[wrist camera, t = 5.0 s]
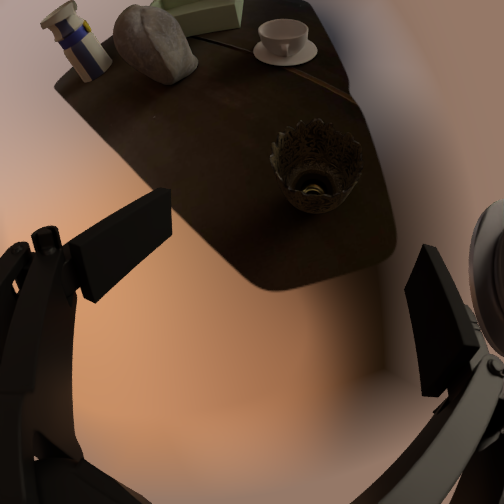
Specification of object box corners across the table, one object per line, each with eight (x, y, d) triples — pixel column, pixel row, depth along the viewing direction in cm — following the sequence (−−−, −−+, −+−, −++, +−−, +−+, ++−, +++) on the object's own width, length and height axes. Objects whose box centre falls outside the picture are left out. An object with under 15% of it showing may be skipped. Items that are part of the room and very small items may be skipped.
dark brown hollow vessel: (362, 196, 27) (381, 152, 20) (318, 247, 26) (327, 214, 19) (307, 156, 29) (308, 106, 22) (261, 201, 29) (250, 157, 21)
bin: (240, 27, 39) (234, 4, 34) (141, 49, 42) (130, 30, 37) (244, -5, 45) (240, -23, 39) (164, 11, 48) (157, -5, 42)
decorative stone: (215, 77, 35) (186, -4, 21) (153, 111, 35) (106, 36, 21) (181, 46, 40) (155, -15, 26) (132, 73, 40) (96, 15, 26)
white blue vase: (111, 53, 45) (65, -22, 21) (115, 66, 42) (61, -19, 18) (82, 73, 45) (30, 3, 21) (82, 88, 42) (22, 10, 18)
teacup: (255, 38, 37) (251, 17, 33) (313, 37, 36) (313, 16, 31) (252, 69, 35) (247, 45, 30) (320, 68, 33) (320, 43, 29)
